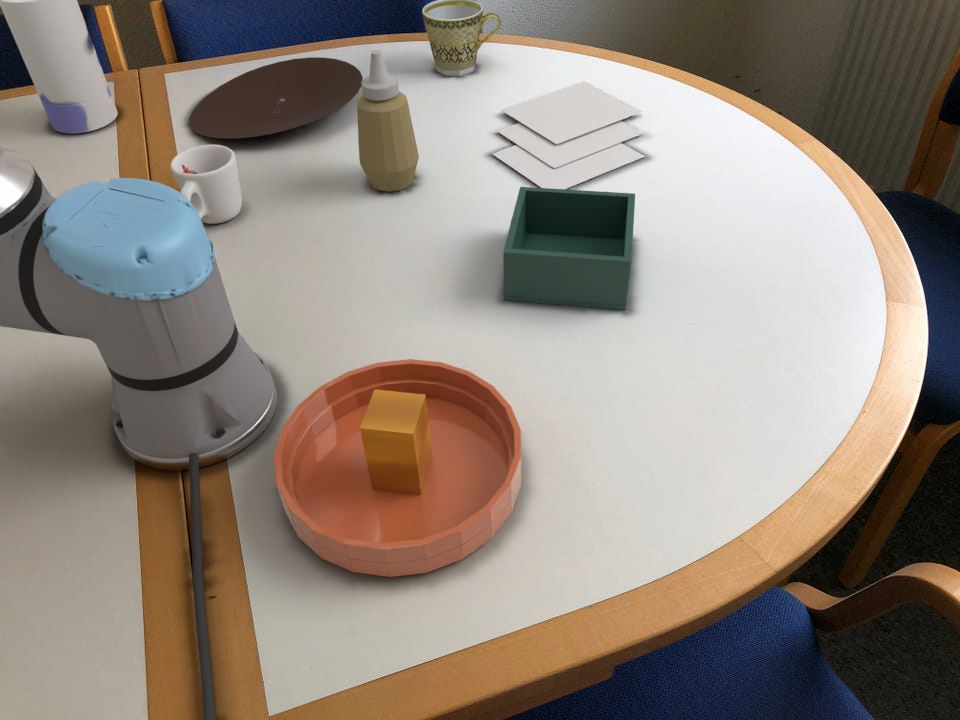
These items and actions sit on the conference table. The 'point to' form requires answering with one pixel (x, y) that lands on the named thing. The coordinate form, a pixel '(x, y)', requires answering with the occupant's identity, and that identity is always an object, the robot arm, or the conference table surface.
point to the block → (397, 441)
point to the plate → (276, 98)
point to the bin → (569, 248)
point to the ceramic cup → (455, 34)
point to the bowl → (389, 514)
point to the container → (61, 63)
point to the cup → (209, 181)
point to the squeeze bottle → (385, 130)
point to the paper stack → (569, 136)
